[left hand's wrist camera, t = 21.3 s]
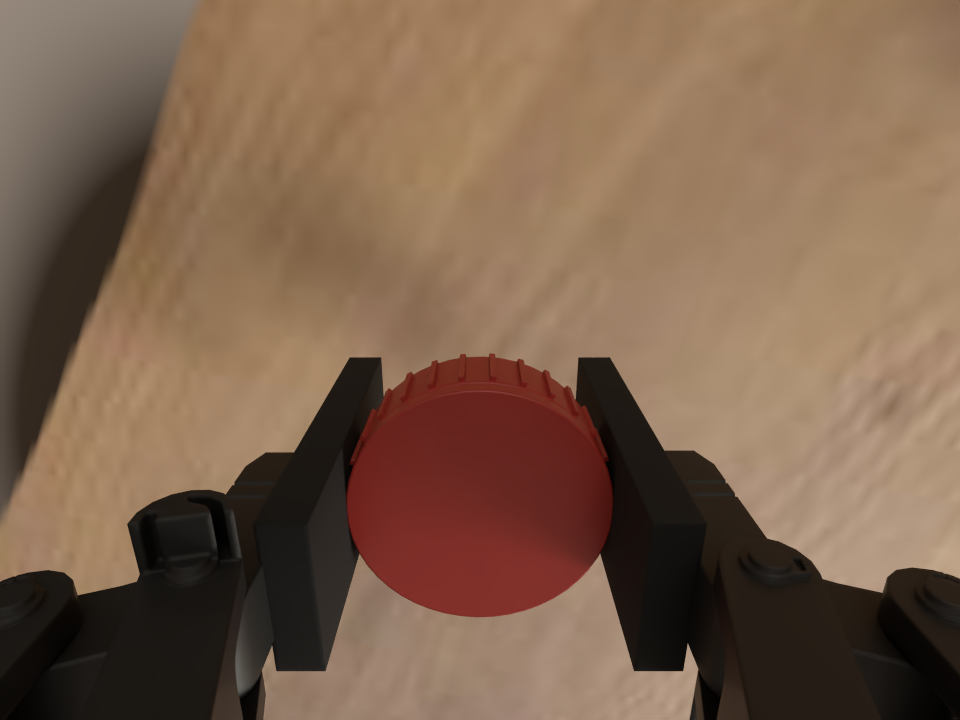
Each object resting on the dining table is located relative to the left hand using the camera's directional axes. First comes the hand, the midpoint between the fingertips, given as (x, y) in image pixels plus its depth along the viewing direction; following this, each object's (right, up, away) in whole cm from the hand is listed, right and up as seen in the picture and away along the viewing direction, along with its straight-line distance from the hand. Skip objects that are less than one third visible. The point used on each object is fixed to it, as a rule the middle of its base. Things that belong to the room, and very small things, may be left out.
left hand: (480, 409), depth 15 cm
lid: (0, -1, -4) cm, 4 cm away
